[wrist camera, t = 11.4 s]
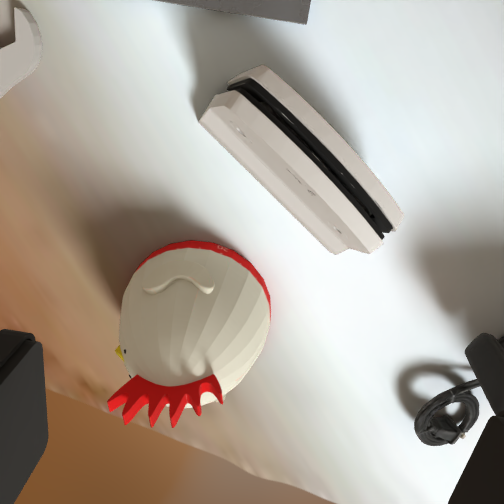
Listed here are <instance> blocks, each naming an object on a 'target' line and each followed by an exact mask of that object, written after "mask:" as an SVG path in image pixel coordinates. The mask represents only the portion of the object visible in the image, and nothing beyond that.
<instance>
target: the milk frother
mask: <svg viewBox="0 0 504 504" xmlns="http://www.w3.org/2000/svg"><path fill="white" fill-rule="evenodd" d="M465 355H466V357H467V359H468V361H469V364H470V365H471V367H472V369H473V371H474V373H475V376H476V378H477V379H475V380H472V381H469V382H466V383H464V384H461V385H458V386H456V387H454V388H451V389H449V390H447V391H444V392H442V393H440V394H439V395H437V396H436V397H434V398H433V399H432V400H430V401H429V402H428V403H426V404H425V405H424V406H423V407H422V408H421V410H420V411H419V412H418V414H417V416H416V419H415V422H414V429H415V432H416V434H417V436H418V438H419V439H420V440H421V442H423V443H424V444H427V445H430V446H440V445H444V444H448V443H449V444H455V442H456V441H457V440H458V439H459V437H460V438H462V439H463V438H465V432H468V430H469V429H470V428H471V427H472V426H473V425H474V423H475V422H476V420H477V419H478V416H479V402H478V400H477V398H476V397H475V396H474V395H472V394H471V393H470V392H468V390H471V389H473V388H476V387H479V386H481V387H482V389H483V391H484V394H485V395H486V398H487V399H488V401H489V403H490V406H491V408H492V410H493V411H494V413H495V415H496V416H497V415H498V413H499V412H501V411H502V410H504V337H502V338H501V339H500V340H499V341H497V339H496V338H495V337H494V336H492V335H489V334H487V333H482V334H480V335H479V336H478V337H477V338H475V339H474V340H473V341H472V342H471V343H470V344H469V345H468V346H467V348H466V349H465ZM454 402H463V403H465V405H466V415H465V417H464V419H463V421H462V423H461V424H460V425H459V426H457V425H456V424H455V423H454V422H453V420H452V419H451V418H450V417H449V416H447V415H444V416H443V417H436V418H432V417H433V416H434V414H435V413H436V412H437V411H438V410H440V409H441V408H443V407H445V406H447V405H449V404H451V403H454ZM431 418H432V419H431Z"/></svg>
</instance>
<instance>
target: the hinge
mask: <svg viewBox="0 0 504 504" xmlns="http://www.w3.org/2000/svg"><path fill="white" fill-rule="evenodd" d="M227 83H228V84H229V87H228V88H227V90H228V92H225V93H221V94H217V95H215V96H214V98H213V99H212V101H211V103H210V104H209V106H208V107H207V109H206V111H205V112H204V114H203V115H202V117H201V118H200V120H199V123H200V124H201V125H202V126H203V127H204V128H205V129H206V130H207V131H208V132H209V133H210V134H211V135H212V136H213V137H214V138H215V139H216V140H217V141H218V142H219V143H220V144H221V145H222V146H223V147H224V148H225V149H226V150H227V151H228V152H229V153H230V154H231V155H232V156H233V157H234V158H235V159H236V160H237V161H238V162H239V163H240V164H241V165H242V166H243V167H244V168H245V169H246V170H247V171H248V172H249V173H250V174H251V175H252V176H253V177H254V178H255V179H256V180H257V181H258V182H259V183H260V184H261V185H262V186H263V187H264V188H265V189H266V190H267V191H268V192H269V193H270V194H271V195H272V196H273V197H274V198H275V199H277V200H278V201H279V202H280V203H281V204H282V205H283V206H284V207H285V208H286V209H287V210H288V211H289V212H290V213H291V214H292V215H293V216H294V217H295V218H296V219H297V220H298V221H299V222H300V223H301V224H302V225H303V226H304V227H305V228H306V229H307V230H308V231H309V232H310V233H311V234H312V235H313V236H314V237H315V238H316V239H317V240H318V241H319V242H320V243H321V244H322V245H323V246H324V247H325V248H326V249H327V250H328V251H329V252H331V253H333V254H335V255H337V254H339V253H341V252H343V251H345V250H347V249H353V250H357V251H360V252H364V253H367V254H370V253H372V252H373V251H375V250H376V249H377V248H379V247H380V246H381V245H383V242H382V239H383V238H384V235H383V233H389V232H390V231H396V230H397V228H398V226H399V225H400V223H401V221H402V220H403V218H404V214H403V212H402V211H401V209H400V208H399V206H398V205H397V203H396V202H395V201H394V199H393V198H392V196H391V195H390V194H389V192H388V191H387V190H386V188H385V187H384V186H383V185H382V183H381V182H380V181H379V180H378V178H377V177H376V176H375V175H374V173H373V172H372V171H371V170H370V168H369V167H368V166H367V165H366V164H365V163H364V162H363V160H362V159H361V158H360V157H359V156H358V155H357V154H356V152H355V151H354V150H353V149H352V148H351V147H350V146H349V145H348V143H347V142H346V141H345V140H344V139H343V138H342V137H341V136H340V135H339V134H338V133H337V132H336V131H335V130H334V128H333V127H332V126H331V125H330V124H329V123H328V122H327V121H326V120H325V119H324V118H323V117H322V116H321V115H320V114H319V113H318V112H317V111H316V110H315V109H314V108H313V107H312V106H311V105H309V104H308V103H307V102H306V101H305V100H304V99H303V98H302V97H301V96H300V95H299V94H298V93H297V92H296V91H295V90H293V89H292V88H291V87H290V86H289V85H288V84H287V83H286V82H285V81H283V80H282V79H281V78H280V77H279V76H278V75H277V74H276V73H274V72H273V71H272V70H271V69H270V68H268V67H267V66H264V65H260V66H258V67H255V68H253V69H250V70H248V71H245V72H243V73H240V74H239V75H237V76H236V77H234V78H233V79H231V80H230V81H228V82H227ZM382 232H383V233H382Z"/></svg>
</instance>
